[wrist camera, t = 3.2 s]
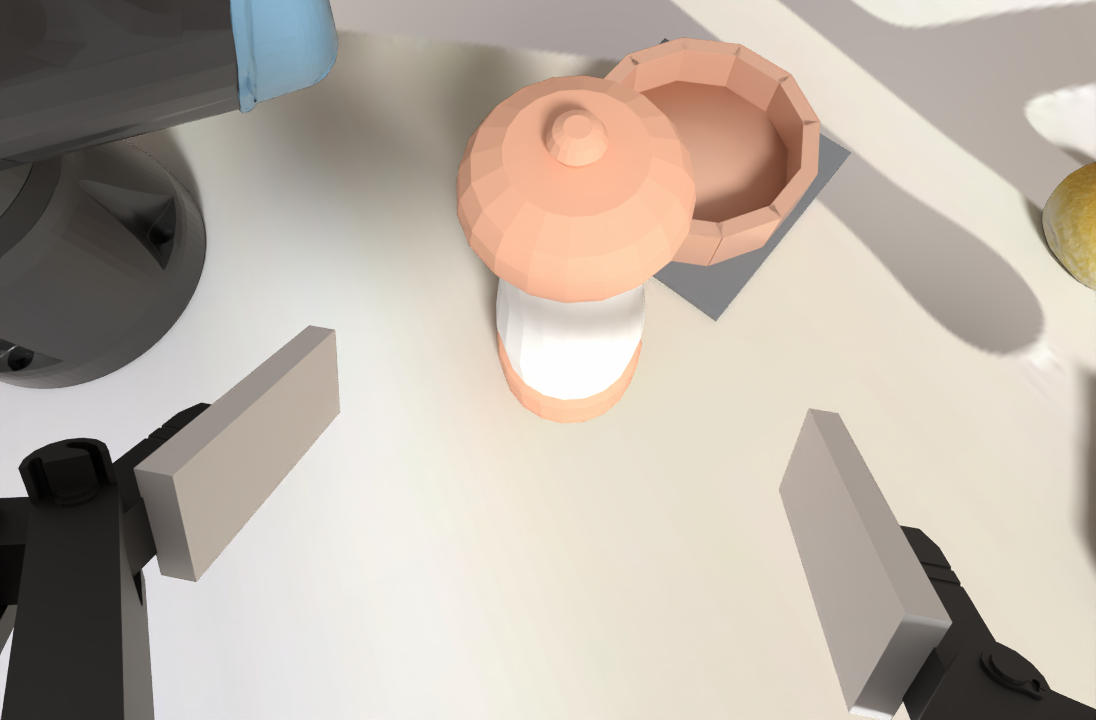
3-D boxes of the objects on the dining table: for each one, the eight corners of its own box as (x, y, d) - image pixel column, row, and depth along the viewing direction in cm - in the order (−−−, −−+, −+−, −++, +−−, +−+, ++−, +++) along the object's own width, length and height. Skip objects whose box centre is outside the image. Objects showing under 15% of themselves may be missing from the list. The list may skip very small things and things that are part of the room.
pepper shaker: (615, 286, 35) (676, -8, 16) (649, 406, 32) (764, 222, 14) (491, 313, 34) (412, 42, 16) (517, 436, 32) (461, 286, 14)
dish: (539, 180, 36) (537, 146, 33) (666, 47, 39) (675, 5, 36) (715, 305, 34) (730, 281, 31) (838, 153, 37) (863, 117, 33)
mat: (526, 185, 37) (526, 181, 36) (663, 43, 40) (664, 38, 39) (715, 321, 34) (717, 318, 33) (847, 156, 37) (851, 152, 37)
